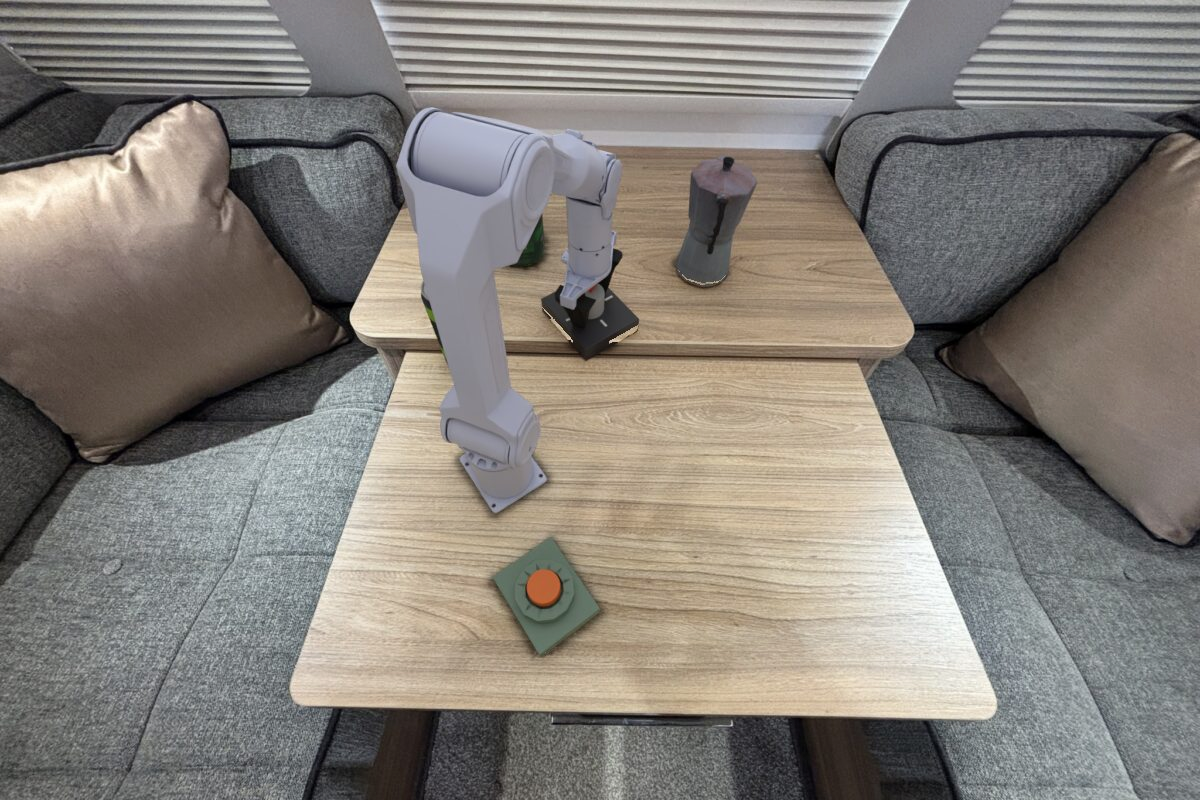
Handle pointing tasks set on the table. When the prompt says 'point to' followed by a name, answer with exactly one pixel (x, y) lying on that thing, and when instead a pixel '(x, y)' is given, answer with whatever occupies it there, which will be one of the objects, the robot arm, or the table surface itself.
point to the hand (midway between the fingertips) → (589, 307)
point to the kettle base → (556, 619)
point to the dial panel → (593, 324)
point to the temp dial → (598, 306)
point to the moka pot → (714, 218)
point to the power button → (543, 588)
